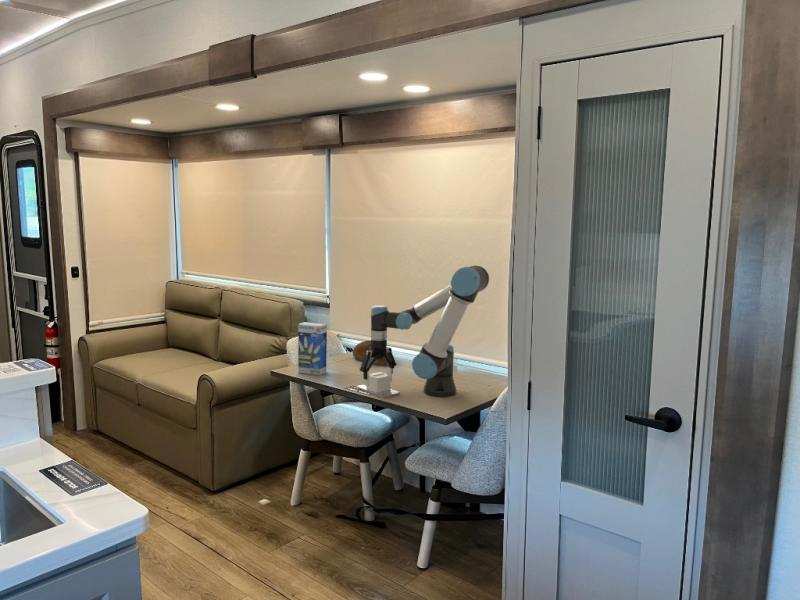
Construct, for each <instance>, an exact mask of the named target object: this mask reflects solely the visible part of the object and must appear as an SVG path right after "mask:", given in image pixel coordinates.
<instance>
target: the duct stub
mask: <svg viewBox="0 0 800 600" xmlns="http://www.w3.org/2000/svg"><path fill="white" fill-rule="evenodd" d="M356 389H358V390H360V389H361V390H360V391H363V392H365V393H369V394H371V395H373V396H377V397H379V398H382V399H385V398H389V397H393V396H398V395H401V391H398V390H395V389H392V388H390V390H386V391H382V392H374V391H371V390H369V389H366V386H365V385H364V384H361V385H356Z"/></svg>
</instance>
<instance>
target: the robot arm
mask: <svg viewBox="0 0 800 600" xmlns="http://www.w3.org/2000/svg"><path fill="white" fill-rule="evenodd" d="M489 283H490V274H489V273H488V270H487V269H486V268H484V267H483V266H480V265H471V266H464V267H461V268H459V269H457V270H456V271H454V273H453V274H452V276H451V278H450V285H449V284H448V286H446V287H444V288H442V289H440V290H439V291H436V292H435V293H433V294H432V295H430V296H428V297H426V298H425V299H423V300H422V301H421V300H420V301H419V302H417V303H416V304H414V305H412V306H411V307H409V308H406V309H404V310H401V311H390V310H389V309H388V307H387V306H386V305H373V306H372V307H371V312H370V341H371V351H366V352H365V357H364V360H363V362H362V361H361V362H362V363H361V365H360V368H359V371H360V372H362V374H363V376H362V377H363V378H362V379H363V382H364V384H363V385H365V386H367V387H369V374H370V372H369V371H370V369H371V367H373V363H374V361H376V359H382V358H383V360H384V361H385V362H386V364H387V365H386V366H387V367H386V374H388V375H390V383H391V382H392V381H393V374H394V369H395V367H396V366H397V362H396V360H395V359H396V358H395V357H394V355H393V351H392V347H388V341H387V338H388V328H389V329H396V330H397V329H398V330H409V329H411V327H412V325H415V324H417V323H419V322H420V321H421V320H423V319H425V318H427V317H429V316H431V315H432V314H435V313H436V312H438V311H439V310H441V309H443V310H442V313H441V315H440V318H439V319H438V321H437V324H436V325H435V327H434V329H433V332H432V333H431V336H430V338H429V341H428V342H425V343H423V345H422V346H421V347H422V348H421V349H420V351H419V353H418V354H416V355H415V357H414V358H413V359H412V362H411V367H412V370H413V372H414V374H415V375H416V376H417V377H419V378H420V379H422V380H426V381H425V384H424V386H423V393H424V394H425V395H427V396H433V397H439V398H440V397H441V398H442V397H443V398H444V397H452V396H455V395H456V393H457V387H456V384H455V380H454V379H455V378H454V354H455V352H454V351H455V350H454V346H453V345H452V344H450V343H451V341H452V339H453V337H454V335H455V333H456V330H457V329H458V327H459V325H460V323H461V321H462V318H463V316H464V315H465V312H466V311H467V309H468V306H469V305H471V304H473V303H474V302H475V300H476V298H477V296H478V294H479V292H483V291H484V290H485V289H486V288H487V287H488V285H489ZM386 347H387V348H386ZM386 352H387V355H388V357H389V359H388V358H387V356H386V354H385V353H386ZM371 354H372V355H371ZM370 355H371V356H370ZM373 357H374V358H373Z"/></svg>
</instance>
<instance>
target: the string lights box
mask: <svg viewBox="0 0 800 600" xmlns="http://www.w3.org/2000/svg"><path fill="white" fill-rule="evenodd" d="M297 334H298V335H297V336H298V337H297V338H298V345H297V346H298V347H297V348H298V357H297V358H298V360H297V361H298V365H297V366H298V367H297V369H298V370H297V371H298V373H300V374H308V375H315V376H321V375H324V374H326V373H327V356H328V355H327V348H328V347H327V344H328V342H327V341H328V339H327V338H328V337H327V335H328V324H326V323H318V322H308V321H304V322H300V323H298V333H297Z"/></svg>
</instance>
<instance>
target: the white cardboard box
mask: <svg viewBox="0 0 800 600" xmlns="http://www.w3.org/2000/svg"><path fill="white" fill-rule="evenodd" d="M366 389H369V390H371V391H374V392H382V391H386V390H390V389H391V382H390V375H388V374H387V373H385V372H384V373H383V372H382V371H378V372H373V373H369V387H367V386H366Z"/></svg>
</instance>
